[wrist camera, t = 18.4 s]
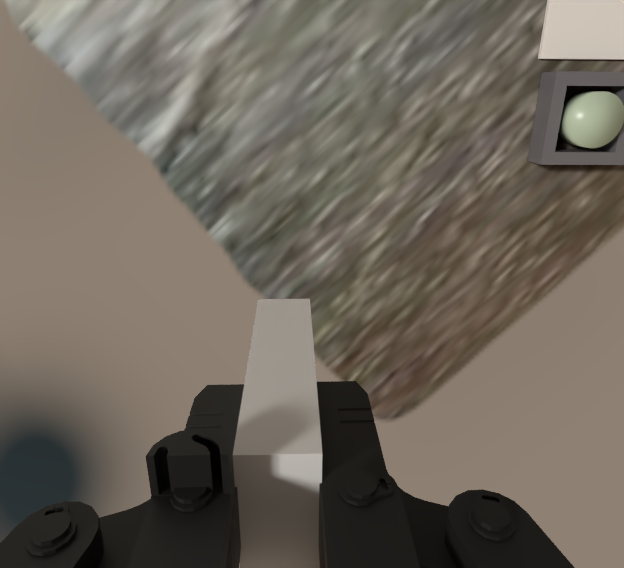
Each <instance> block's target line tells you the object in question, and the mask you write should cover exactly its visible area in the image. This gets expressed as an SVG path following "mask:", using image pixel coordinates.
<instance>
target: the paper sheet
mask: <svg viewBox="0 0 624 568" xmlns="http://www.w3.org/2000/svg"><path fill="white" fill-rule="evenodd" d="M538 59H601V60H624V0H547V6H546V12H545V18H544V25H543V31H542V37H541V43H540V50H539V56H538Z"/></svg>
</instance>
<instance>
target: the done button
mask: <svg viewBox="0 0 624 568" xmlns="http://www.w3.org/2000/svg"><path fill="white" fill-rule="evenodd" d="M623 122H624V106H623V103H622V101H621V100H620V98H619V97H618V96H616V95H615V94H613V93H611V92H605V91H587V92H582V93H579V94H577V95H575V96H573V97H572V98H570V99H569V100H568V101H567V102H566V103H565V105H564V106H563V110H562V116H561V121H560V127H559V133H560V135H561V137H562V138H563V140H564V141H566V142H567V143H569V144H571V145H575V146H581V147H586V148H598V147H601V146H604V145H606V144H607V143H609V142H610V141H612V140H613V139H614V138H615V137H616V136H617V134H618V133H619V131H620V130H621V128H622V125H623Z"/></svg>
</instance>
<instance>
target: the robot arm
mask: <svg viewBox="0 0 624 568" xmlns="http://www.w3.org/2000/svg"><path fill="white" fill-rule="evenodd" d="M146 461H147V468H148V475H149V481H150V488H151V495H152V496H151V499H150V500H148V501H146V502H144V503H143V504H141V505H139V506H137V507H134V508H131V509H129V510H126V511H122V512H119V513H115V514H112V515H108V516H104V517H101V518H99V517H98V515H97V513H96V512H95V510H94V509H93V508H92V507H91V506H89V505H87V504H84V503H82V502H61V503H57V504H53V505H50V506H46V507H44V508H43V509H41V510H39V511H37V512H35V513H33V514H31V515H29V516H28V517H27V518H26V519H25V520H23V521H22V522H21V523H20V524H19V525H17V526H16V527H15V528H14V529H13V530H12V531H11V532H10V534H8V536H7V537H6V538H5V539H4V540H3V541H2V542H1V543H0V568H239V562H240V568H574V567H573V565H572V564H571V563H570V562H569V561H568V560H567V558H566V557H565V556H564V555H563V554H562V553H561V551H559V549H558V548H557V547H556V546H555V545H554V543H553V542H552V541H551V540H550V539H549V538H548V537H547V535H546V534H545V533H544V532H543V531H542V529H541V528H540V527H539V526H538V525H537V524H536V522H535V521H534V520H533V519H532V518H531V517H530V515H529V514H528V513H527V512H526V511H525V510H523V509H522V508H521V507H520V506H519V505H518V504H517V503H515V502H514V501H513V500H511V499H509V498H507V497H505V496H503V495H501V494H499V493H495V492H490V491H486V490H468V491H466V492H463V493H461V494H459V495H457V496H456V497H455V498H454V500H453V501H452V502H451V503H450V505H449V506H444V505H440V504H436V503H432V502H428V501H424V500H421V499H418V498H415V497H413V496H411V495H410V494H408V493H405V492H404V491H403V490H402V489H400V488H399V487H398V486H397V484H396V482H395V480H394V479H393V478H392V477H391V476H390V475H389V474H388V472H387V470H386V466H385V462H384V458H383V454H382V451H381V446H380V442H379V438H378V434H377V430H376V426H375V423H374V418H373V414H372V411H371V406H370V402H369V398H368V394H367V393H366V392H365V391H364V389H363V388H362V387H361V386H360V385H359V384H358V383H357V382H356V381H343V382H316V370H315V358H314V346H313V333H312V321H311V309H310V299H258V304H257V311H256V316H255V323H254V328H253V334H252V341H251V347H250V353H249V359H248V365H247V371H246V377H245V383H244V385H207V386H206V387H205V388H204V389H203V390H202V391H201V392H200V393H199V394H198V395H197V396H196V397H195V399H194V402H193V405H192V408H191V411H190V416H189V418H188V421H187V424H186V428H185V430H184V431H179V432H177V433H174V434H171V435H169V436H166V437H165V438H163V439H162V440H160V441H159V442H157V443H156V444H155V445H153V447H152V448H151V449H150V451H149V452H148V454H147V456H146Z"/></svg>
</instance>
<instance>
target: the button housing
mask: <svg viewBox="0 0 624 568" xmlns="http://www.w3.org/2000/svg"><path fill="white" fill-rule="evenodd" d="M567 86H611V91H610V92H611V93H613V94H615V95H616V96H618V97H619V98H620V100H621V101H622V103H623V106H624V72H570V71H555V72H542V75H541V81H540V87H539V93H538V99H537V105H536V112H535V118H534V124H533V130H532V136H531V142H530V148H529V154H528V160H527V161H529V162H533V163H536V164H540V165H624V122H623V125H622V128H621V130H620V131H619V133H618V134H617V136H616V137H615V138H614V139H613V140H612V141H610V142H609V143H607V144H606V145H604V146H601V147H598V149H556V143H557V138H558V132H559V127H560V121H561V116H562V110H563V105H564V100H565V94H566V89H567Z"/></svg>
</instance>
